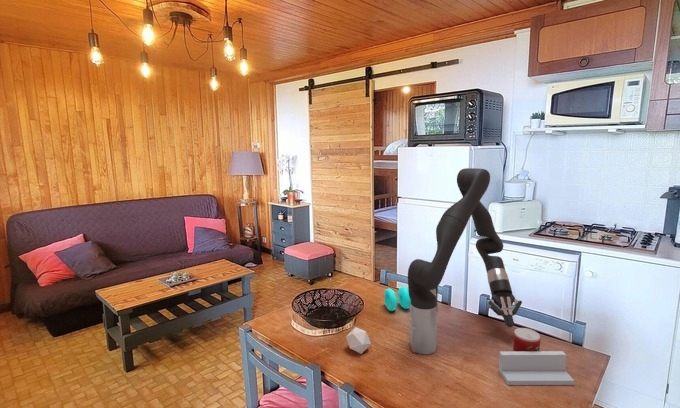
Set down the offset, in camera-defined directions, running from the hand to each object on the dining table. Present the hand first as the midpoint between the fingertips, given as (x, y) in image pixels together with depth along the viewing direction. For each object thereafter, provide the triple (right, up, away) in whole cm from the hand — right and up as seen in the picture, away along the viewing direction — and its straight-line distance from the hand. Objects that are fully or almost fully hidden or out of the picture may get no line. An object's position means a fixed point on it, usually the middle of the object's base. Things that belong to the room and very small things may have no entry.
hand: (510, 326), depth 133 cm
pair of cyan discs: (-36, -3, +33) cm, 49 cm away
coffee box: (-22, -3, +32) cm, 39 cm away
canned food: (0, -9, -11) cm, 14 cm away
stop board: (-1, -10, -18) cm, 21 cm away
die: (-56, -9, +1) cm, 57 cm away
